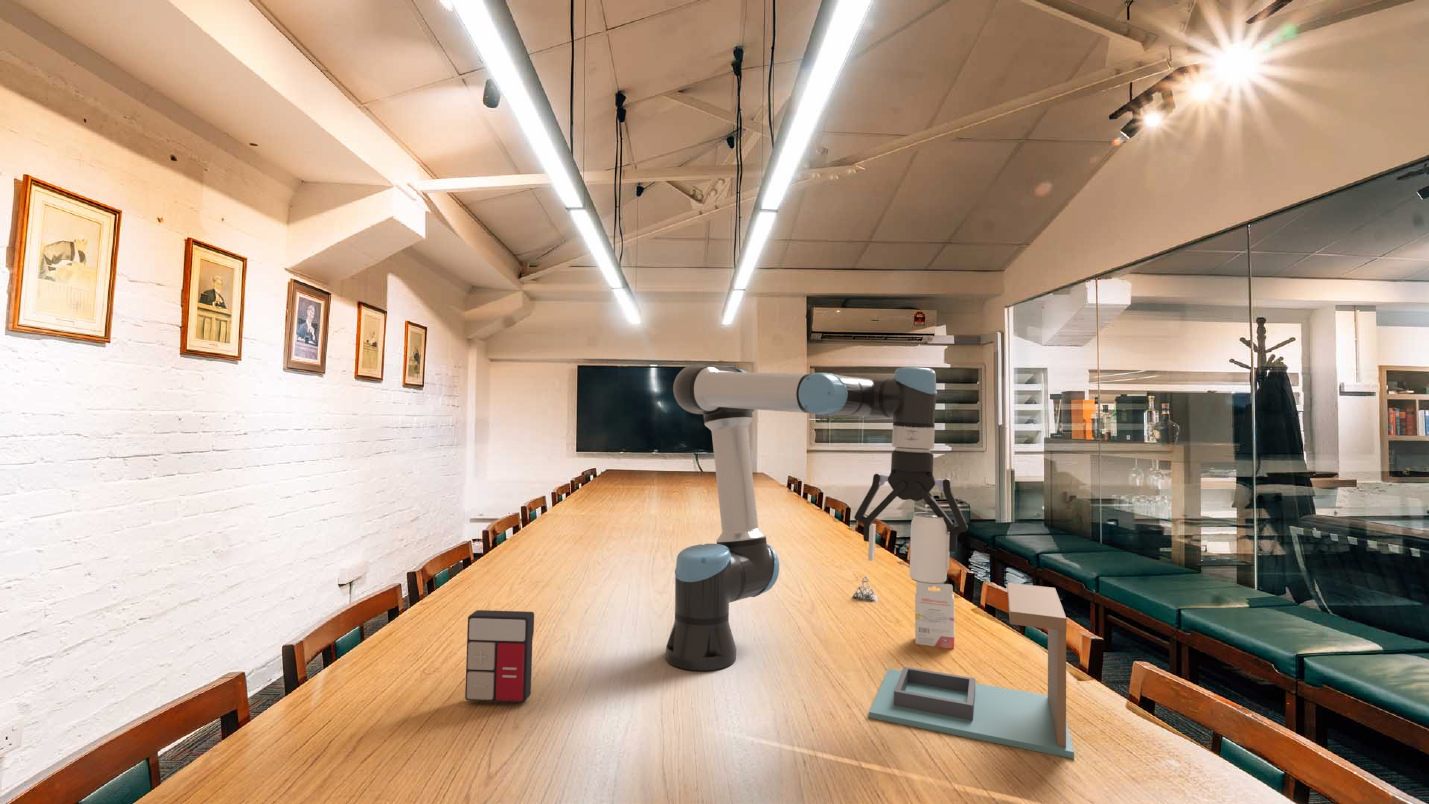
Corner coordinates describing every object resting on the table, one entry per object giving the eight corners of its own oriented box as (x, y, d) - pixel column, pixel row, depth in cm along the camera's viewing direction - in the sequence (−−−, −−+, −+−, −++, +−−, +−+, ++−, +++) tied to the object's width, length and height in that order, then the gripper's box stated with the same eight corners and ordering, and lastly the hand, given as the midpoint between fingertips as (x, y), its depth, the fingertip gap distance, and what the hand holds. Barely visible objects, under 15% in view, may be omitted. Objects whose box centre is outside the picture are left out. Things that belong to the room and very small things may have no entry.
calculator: (462, 702, 113) (465, 616, 114) (472, 692, 118) (475, 609, 118) (524, 704, 113) (527, 618, 114) (532, 694, 117) (534, 611, 118)
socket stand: (869, 717, 111) (870, 594, 111) (888, 673, 131) (889, 569, 131) (1074, 758, 98) (1074, 620, 99) (1060, 702, 118) (1060, 588, 119)
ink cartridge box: (954, 644, 150) (955, 580, 150) (954, 650, 145) (954, 585, 145) (916, 638, 153) (916, 576, 153) (914, 645, 148) (915, 581, 149)
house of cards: (890, 601, 187) (890, 574, 187) (881, 608, 179) (881, 580, 180) (860, 596, 192) (860, 570, 192) (850, 602, 184) (850, 576, 184)
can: (949, 585, 114) (951, 518, 115) (911, 582, 116) (913, 516, 116) (943, 577, 121) (945, 513, 121) (907, 574, 122) (909, 511, 122)
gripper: (842, 446, 121) (837, 559, 121) (984, 455, 112) (979, 578, 111) (849, 445, 128) (845, 551, 128) (984, 453, 119) (980, 568, 118)
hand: (907, 564), depth 120 cm, fingers open, 13 cm apart
